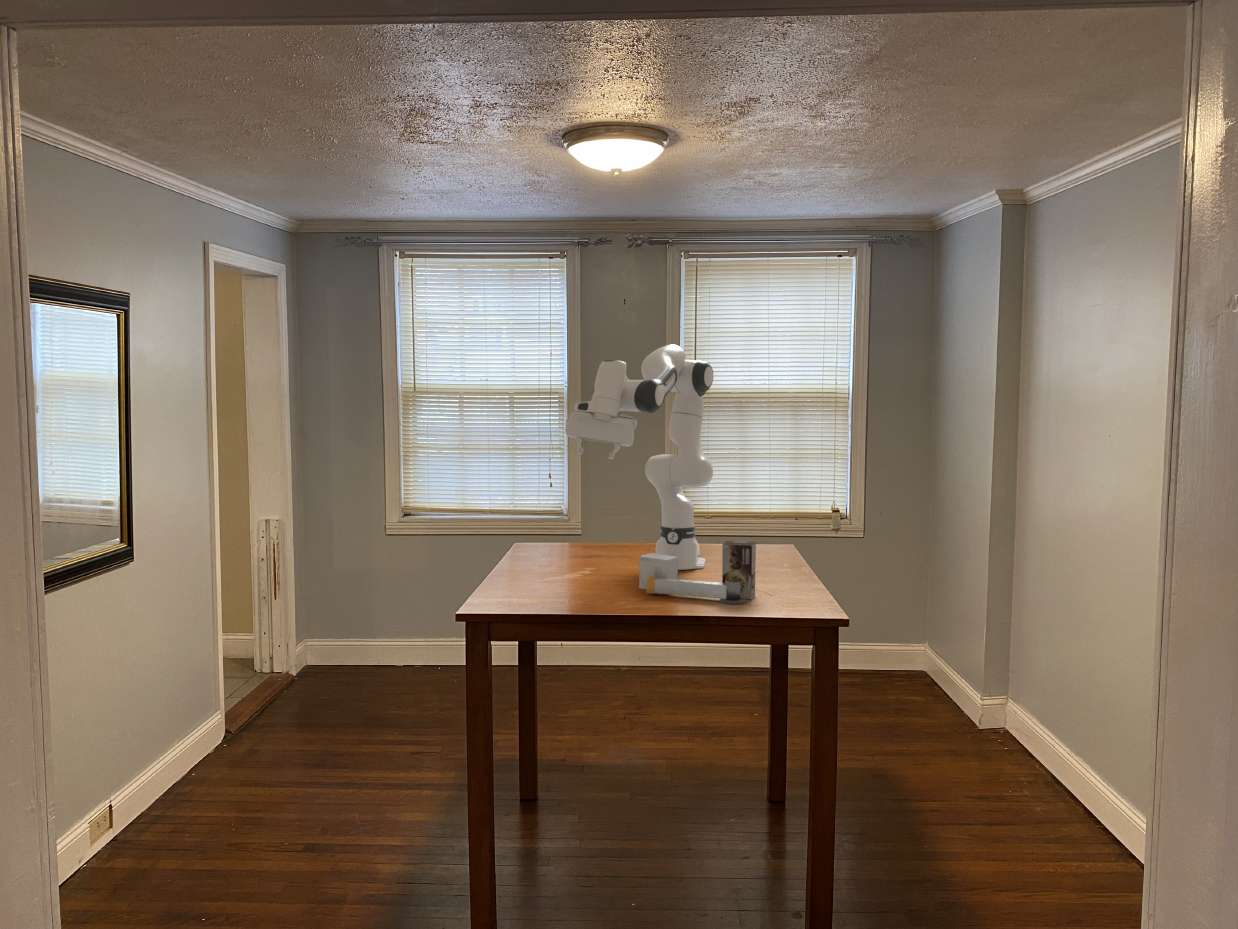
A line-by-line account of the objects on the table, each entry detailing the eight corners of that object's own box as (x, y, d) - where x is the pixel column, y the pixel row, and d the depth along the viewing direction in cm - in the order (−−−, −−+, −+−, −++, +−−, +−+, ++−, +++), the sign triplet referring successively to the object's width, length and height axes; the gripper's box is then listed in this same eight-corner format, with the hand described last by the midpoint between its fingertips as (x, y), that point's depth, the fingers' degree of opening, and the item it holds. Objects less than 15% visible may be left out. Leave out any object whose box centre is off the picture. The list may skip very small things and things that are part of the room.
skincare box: (638, 589, 273) (638, 555, 273) (650, 585, 278) (650, 552, 278) (666, 593, 267) (667, 559, 266) (678, 590, 272) (678, 556, 271)
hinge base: (723, 598, 261) (723, 595, 261) (747, 600, 259) (747, 597, 259) (717, 603, 255) (718, 600, 255) (742, 605, 252) (742, 602, 252)
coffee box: (755, 595, 266) (756, 541, 265) (751, 599, 260) (752, 545, 259) (725, 592, 269) (726, 540, 268) (721, 597, 263) (722, 543, 262)
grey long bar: (741, 598, 258) (742, 580, 258) (738, 601, 254) (738, 583, 254) (650, 590, 267) (650, 573, 267) (645, 593, 263) (646, 576, 263)
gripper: (639, 419, 264) (631, 464, 262) (573, 409, 267) (563, 453, 264) (637, 413, 258) (629, 459, 255) (569, 403, 261) (560, 448, 258)
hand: (595, 456), depth 260 cm, fingers open, 8 cm apart
